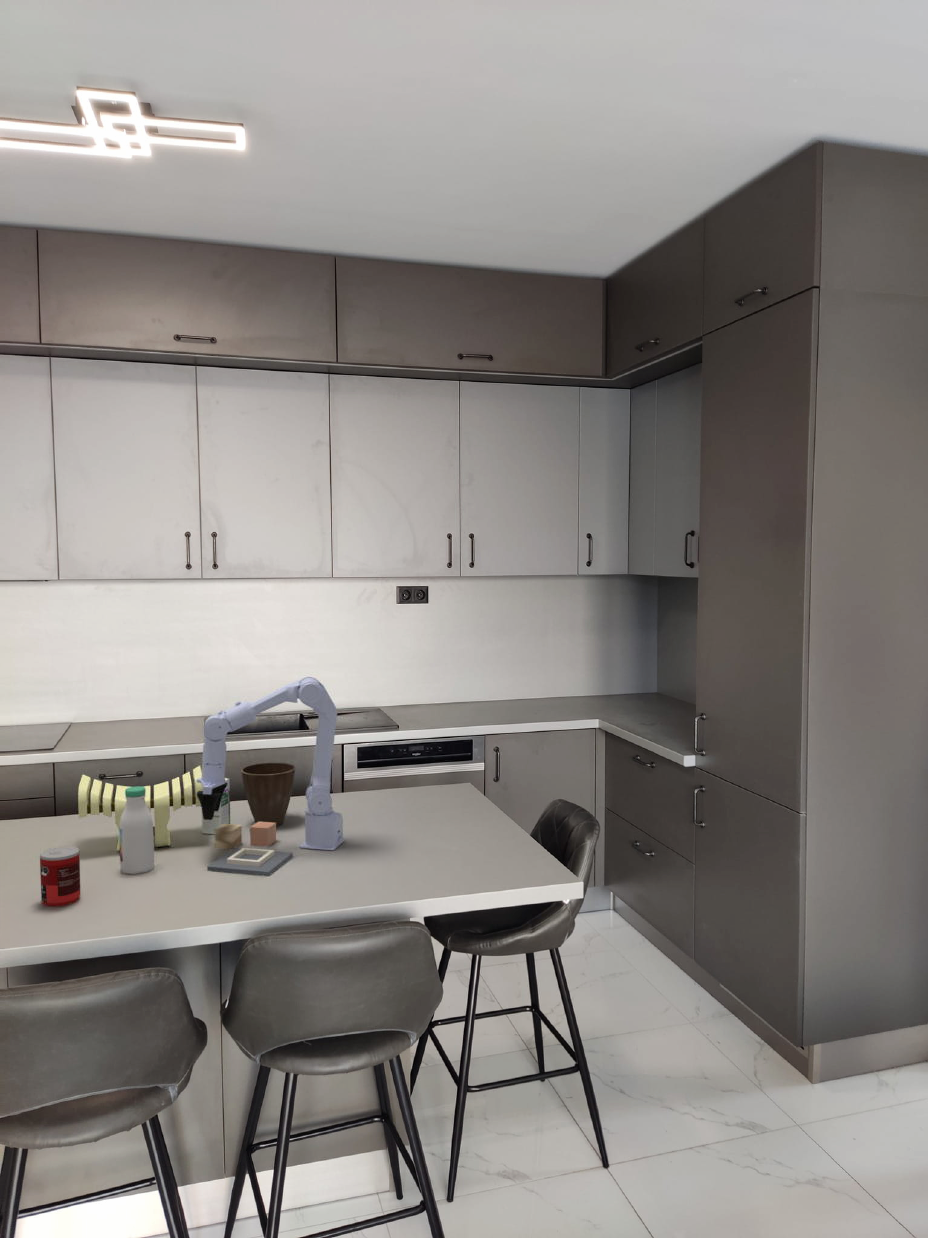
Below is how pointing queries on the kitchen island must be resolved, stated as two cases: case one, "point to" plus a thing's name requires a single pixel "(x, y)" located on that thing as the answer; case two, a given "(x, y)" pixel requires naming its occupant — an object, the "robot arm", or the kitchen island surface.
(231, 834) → the oak block
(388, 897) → the kitchen island surface
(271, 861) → the slate baseplate
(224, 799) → the syrup box
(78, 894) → the canned food
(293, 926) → the kitchen island surface
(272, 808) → the plant pot
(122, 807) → the slatted curved stool
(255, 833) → the terracotta block
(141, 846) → the milk bottle
